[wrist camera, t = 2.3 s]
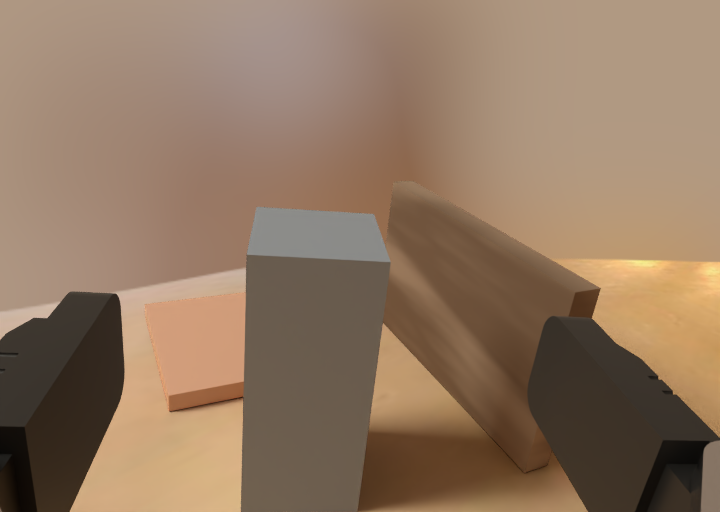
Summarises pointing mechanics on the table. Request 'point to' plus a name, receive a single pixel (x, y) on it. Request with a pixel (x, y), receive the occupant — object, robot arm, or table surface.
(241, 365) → the terracotta tile
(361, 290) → the slate block
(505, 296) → the walnut screen
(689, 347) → the table surface
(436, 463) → the table surface
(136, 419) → the table surface
